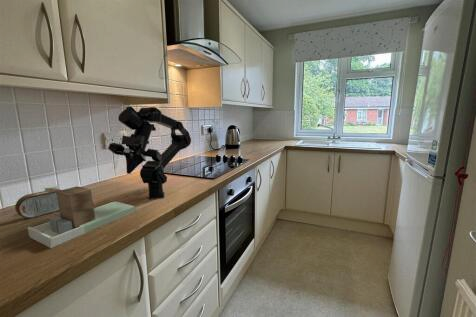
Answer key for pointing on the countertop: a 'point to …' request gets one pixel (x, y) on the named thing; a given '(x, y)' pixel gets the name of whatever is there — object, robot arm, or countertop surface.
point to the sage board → (108, 214)
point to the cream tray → (53, 234)
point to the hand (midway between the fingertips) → (128, 173)
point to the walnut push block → (76, 205)
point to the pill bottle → (51, 187)
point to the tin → (38, 204)
